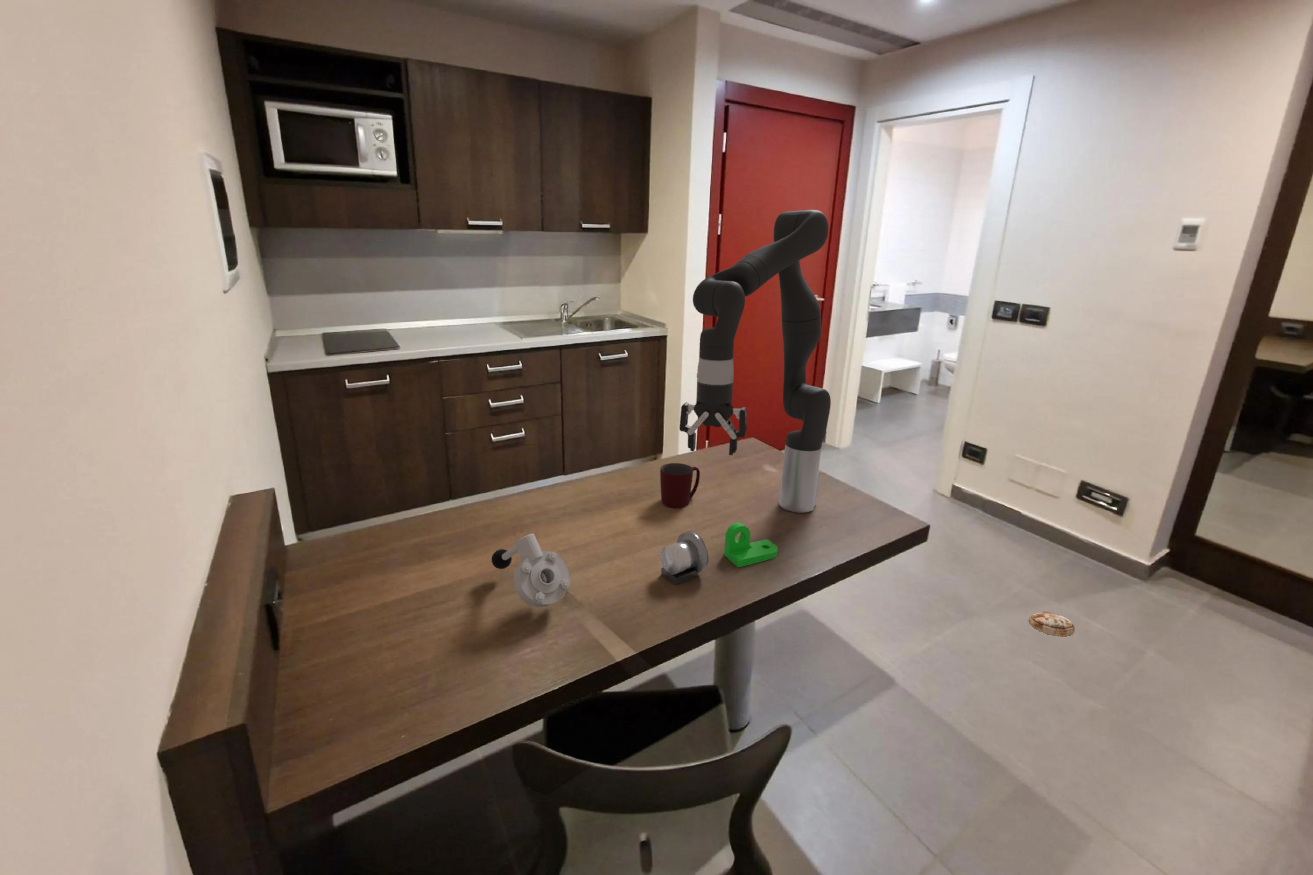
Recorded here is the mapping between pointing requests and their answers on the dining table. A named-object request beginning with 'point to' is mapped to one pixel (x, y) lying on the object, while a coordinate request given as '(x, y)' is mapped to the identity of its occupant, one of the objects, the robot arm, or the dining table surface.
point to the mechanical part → (746, 547)
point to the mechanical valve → (535, 572)
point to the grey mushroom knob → (684, 558)
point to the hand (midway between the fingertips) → (711, 452)
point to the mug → (677, 484)
